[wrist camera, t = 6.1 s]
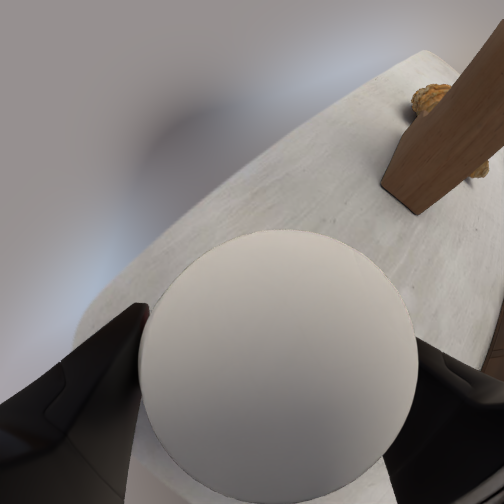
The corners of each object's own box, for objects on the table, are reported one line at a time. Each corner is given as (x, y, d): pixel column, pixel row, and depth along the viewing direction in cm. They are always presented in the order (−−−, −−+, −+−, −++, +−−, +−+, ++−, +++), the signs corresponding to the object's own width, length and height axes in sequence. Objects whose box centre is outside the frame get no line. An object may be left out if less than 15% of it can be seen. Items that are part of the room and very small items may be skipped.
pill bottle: (149, 376, 13) (29, 412, 3) (211, 282, 15) (233, 133, 5) (252, 437, 13) (348, 559, 3) (309, 341, 15) (473, 298, 5)
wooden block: (401, 134, 25) (495, 11, 8) (433, 162, 25) (535, 51, 8) (378, 185, 22) (516, 22, 5) (417, 218, 21) (569, 84, 5)
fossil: (412, 93, 29) (398, 108, 25) (439, 69, 24) (432, 77, 20) (467, 161, 30) (465, 191, 25) (496, 142, 24) (501, 169, 20)
